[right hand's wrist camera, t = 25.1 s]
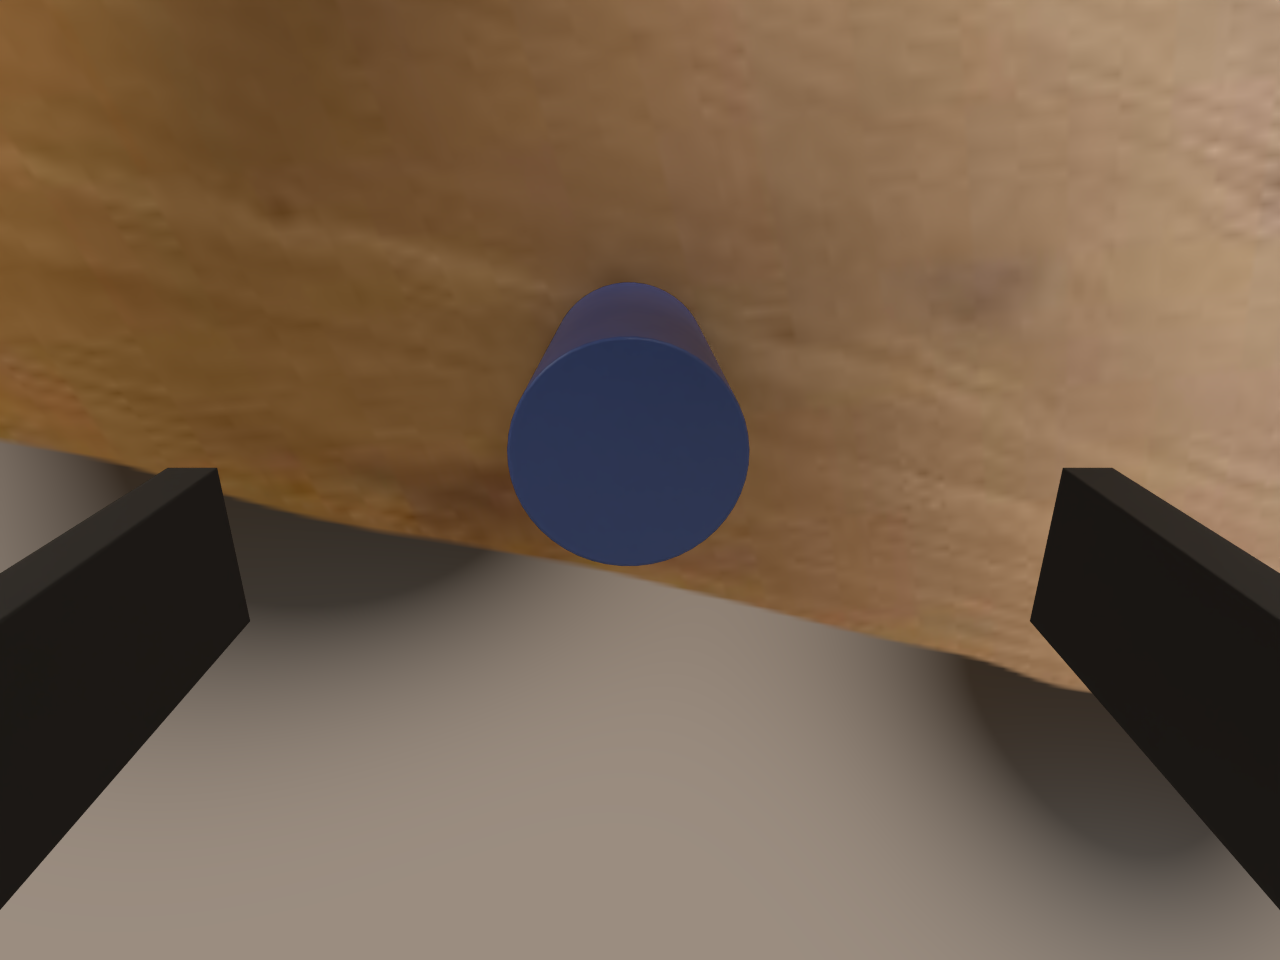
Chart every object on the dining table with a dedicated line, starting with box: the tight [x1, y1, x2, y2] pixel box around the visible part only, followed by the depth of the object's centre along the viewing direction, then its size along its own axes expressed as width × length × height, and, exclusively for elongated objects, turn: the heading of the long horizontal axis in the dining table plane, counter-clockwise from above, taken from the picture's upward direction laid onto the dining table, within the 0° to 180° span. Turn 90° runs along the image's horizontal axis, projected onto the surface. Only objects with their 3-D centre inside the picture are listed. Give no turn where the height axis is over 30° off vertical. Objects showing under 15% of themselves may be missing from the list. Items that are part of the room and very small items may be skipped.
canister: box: [507, 283, 749, 566], centre depth 23 cm, size 6×6×11 cm
